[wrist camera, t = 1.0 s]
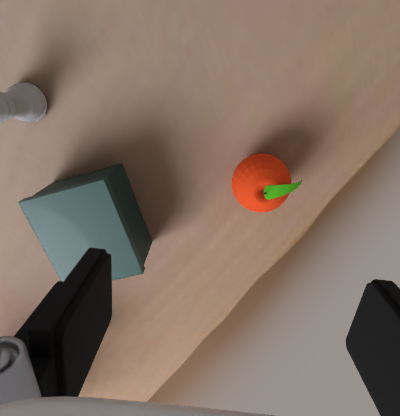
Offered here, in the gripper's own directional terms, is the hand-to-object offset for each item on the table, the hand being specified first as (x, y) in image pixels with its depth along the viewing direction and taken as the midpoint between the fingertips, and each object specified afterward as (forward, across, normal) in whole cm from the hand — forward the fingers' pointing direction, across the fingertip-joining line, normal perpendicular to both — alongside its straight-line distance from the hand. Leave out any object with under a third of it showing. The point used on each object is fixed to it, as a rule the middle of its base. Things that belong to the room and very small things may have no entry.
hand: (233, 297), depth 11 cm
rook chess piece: (+29, +23, -3) cm, 38 cm away
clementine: (+30, -6, +3) cm, 30 cm away
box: (+29, +15, +11) cm, 35 cm away
